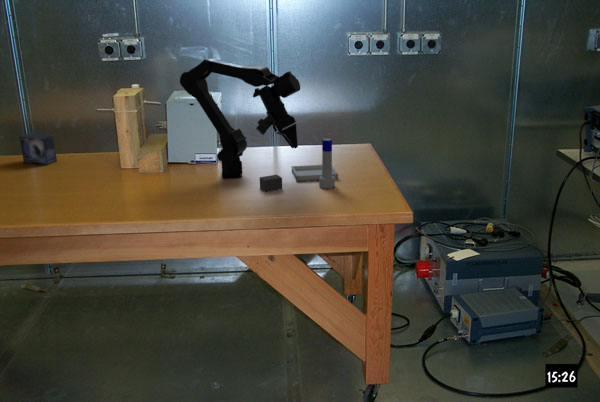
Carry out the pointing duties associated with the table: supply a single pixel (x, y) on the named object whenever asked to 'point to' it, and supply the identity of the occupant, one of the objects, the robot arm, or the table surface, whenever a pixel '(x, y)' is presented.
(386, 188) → the table surface
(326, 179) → the bolt
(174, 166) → the table surface
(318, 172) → the tray
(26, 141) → the small box
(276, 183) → the block
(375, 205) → the table surface
